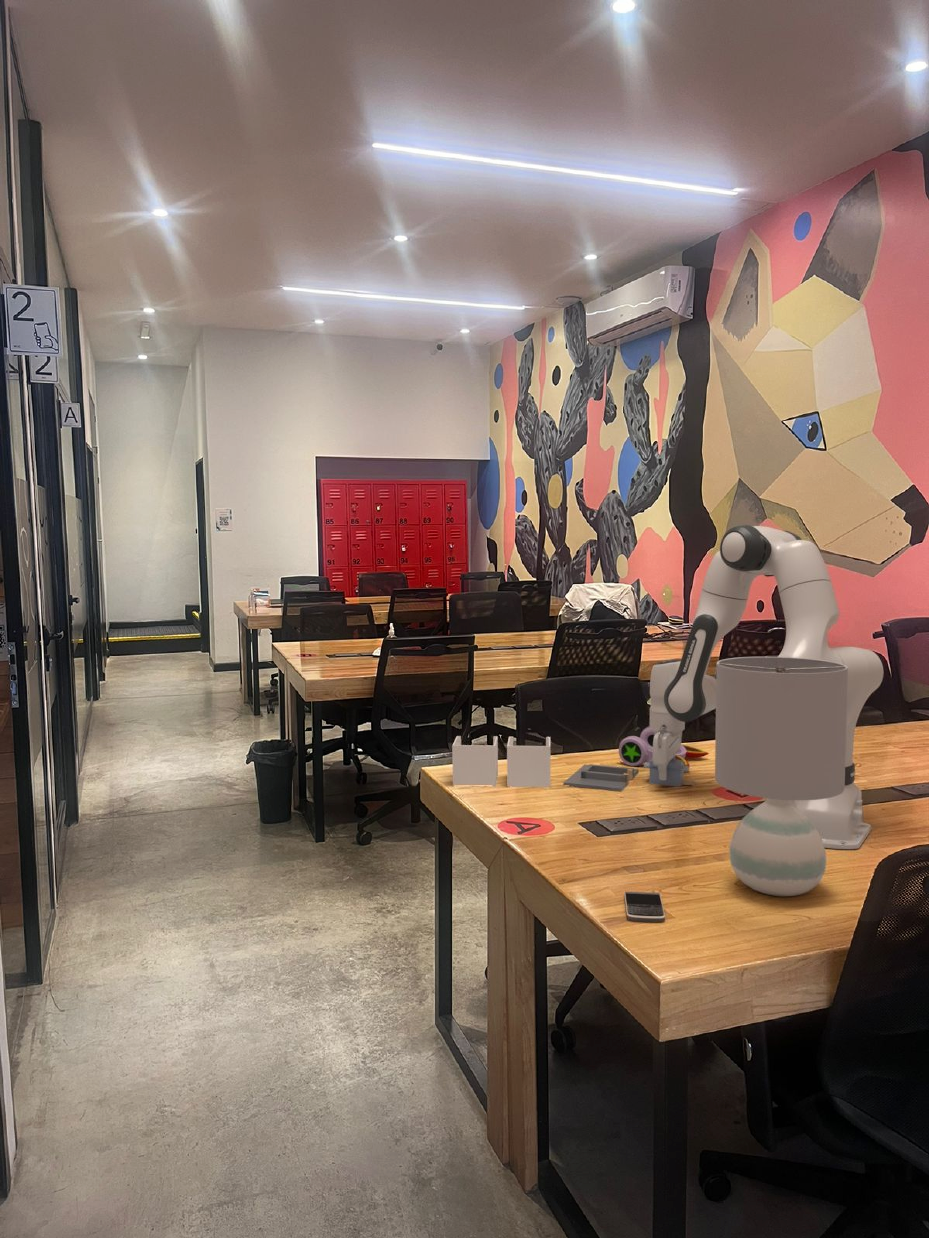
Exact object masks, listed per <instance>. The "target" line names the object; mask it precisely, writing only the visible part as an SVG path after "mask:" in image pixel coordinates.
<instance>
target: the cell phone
mask: <svg viewBox="0 0 929 1238" xmlns="http://www.w3.org/2000/svg"><path fill="white" fill-rule="evenodd" d="M623 896H624V904H625V910H626V911H625V912H626V918H627V920H628V921H632V922H639V923H640V922H642V923H663V922H664V921H665V919H666V913H665V910H664V905H663V901H662V898H661V897H662V896H661V894H660V893H659V892H645V891H641V892H639V891H624V894H623Z"/></svg>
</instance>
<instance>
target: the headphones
mask: <svg viewBox="0 0 929 1238" xmlns="http://www.w3.org/2000/svg"><path fill="white" fill-rule="evenodd" d="M654 736H655V730H652V729H650V725H648V726H647V727H645V728H644V729H643V730H642V731H641V733H640V737H639V736H636V735H630V736H627V737H625V738H623V739H622V741H621V742H620V743H619V746H618V755H619V758H620V760H621V761H622V763H624V764H626V765H628V766H631V767H640V766H642V765H643V764H644V765H645V764H646V763H647V762H650V760H651V759H652V757H653V739H654ZM709 754H710V753H709V752H707V751H705V750H703V749H700V748H697V747H694V746H691V745H687V744H683V743H681V746H680V750H679V751H678V752H677V753H676V755H675V759H676V760H684V766H690V763H689V761H687V760H686V759H698V758H699V759H700V758H702V757H705V756H708V755H709Z"/></svg>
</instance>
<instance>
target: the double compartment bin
mask: <svg viewBox="0 0 929 1238" xmlns="http://www.w3.org/2000/svg"><path fill="white" fill-rule="evenodd" d="M492 739H493V745H487V744H486V745H482V744H481V745H477V744H475V745H474V744H473V745H472V744H471V745H468V744H467V745H466V744H462V736H461V735H457V736H456V737H455V739H454V742H453V743H452V747H451V749H452V753H451V754H452V757H451V758H452V786H453V785H492V786H496V787H497V783H496V780H497V781H498V778H497V776H498V777H499V760H498V759H499V756H498V755H499V748H498V747H499V746H498V745H499V744H498V741H499V740H498V739H499V737H498V736H497V735H496V736H493V737H492ZM506 769H507V773H506V774H507V776H506V782H507V783H506V787H507V786H508V787H510V786H512V787H551V736H546V737H545V745H514V736H508V741H507V745H506Z"/></svg>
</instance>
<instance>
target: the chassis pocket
mask: <svg viewBox="0 0 929 1238" xmlns="http://www.w3.org/2000/svg"><path fill="white" fill-rule="evenodd" d="M639 769H640V768H639ZM639 769H637V768H633V767H624V766H622V767H621V766H614V765H603V764H593V763H592V764H591V763H590V764H583V765H582V766H581V767H579V769H578V770H577V771H575V772H574V773H573V774H571V775H570V776H569V777H568V778H567V779H566V780H565V781H564V782H563V786H564V785H569V786H568V787H572V786H575V788H582V787H584V788H583V789H594V790H601V791H602V790H603V791H613V792H623V790H624V789H625V788H626V787H627V786H628V784H629V782H630V781H629V780H631V781H632V780H633V779H634V778H635V777H636V776H637V775H638V774H639Z"/></svg>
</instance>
